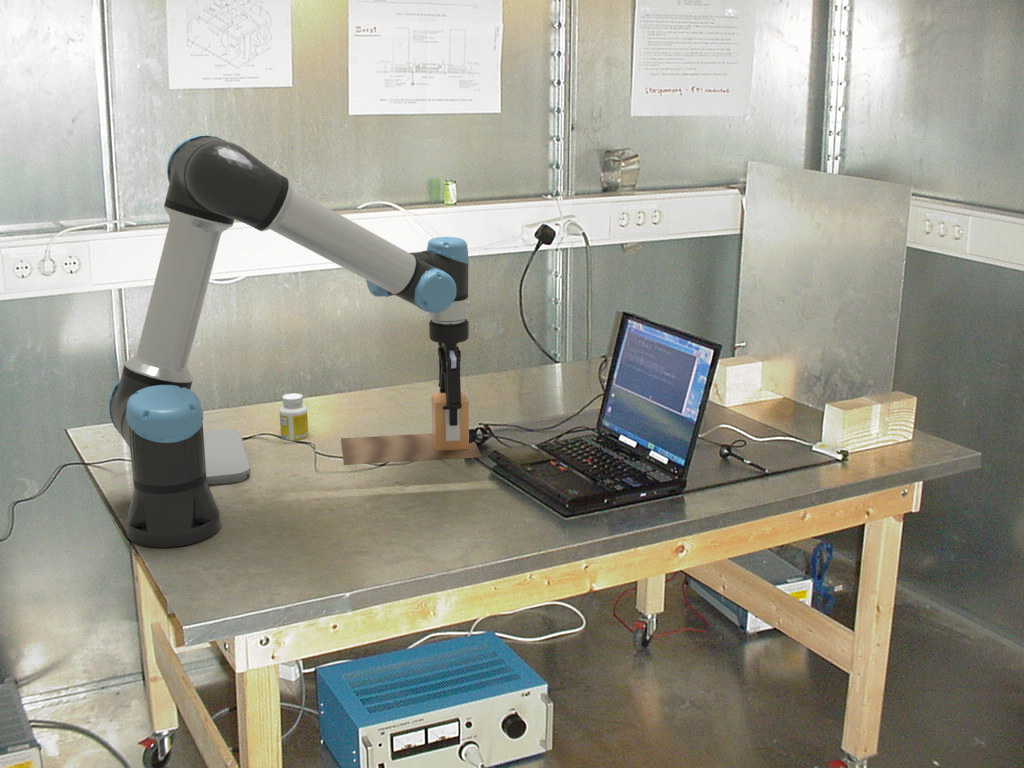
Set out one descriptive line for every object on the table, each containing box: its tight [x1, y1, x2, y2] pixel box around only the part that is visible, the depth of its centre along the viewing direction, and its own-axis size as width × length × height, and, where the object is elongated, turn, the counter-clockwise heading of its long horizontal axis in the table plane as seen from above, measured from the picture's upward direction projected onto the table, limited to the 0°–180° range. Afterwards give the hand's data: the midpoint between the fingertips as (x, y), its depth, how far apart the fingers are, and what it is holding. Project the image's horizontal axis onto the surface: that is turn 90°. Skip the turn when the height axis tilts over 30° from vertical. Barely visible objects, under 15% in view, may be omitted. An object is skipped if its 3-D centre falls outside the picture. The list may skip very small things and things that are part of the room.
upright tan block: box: [431, 391, 470, 451], centre depth 240 cm, size 6×6×10 cm
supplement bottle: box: [279, 392, 309, 441], centre depth 244 cm, size 5×5×10 cm
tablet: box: [203, 428, 251, 486], centre depth 235 cm, size 16×26×2 cm, turn 17°
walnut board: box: [340, 432, 482, 466], centre depth 239 cm, size 26×15×2 cm, turn 100°
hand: (450, 432), depth 240 cm, fingers open, 8 cm apart
